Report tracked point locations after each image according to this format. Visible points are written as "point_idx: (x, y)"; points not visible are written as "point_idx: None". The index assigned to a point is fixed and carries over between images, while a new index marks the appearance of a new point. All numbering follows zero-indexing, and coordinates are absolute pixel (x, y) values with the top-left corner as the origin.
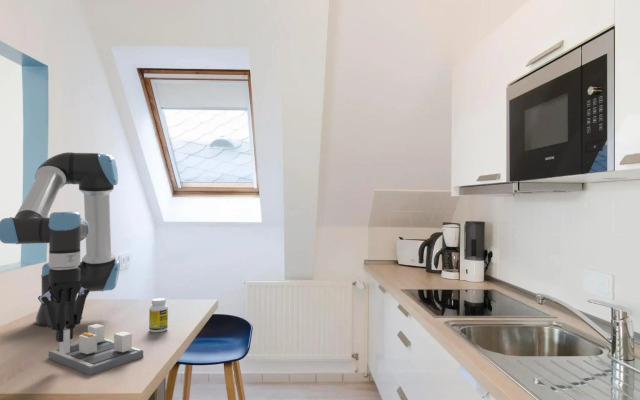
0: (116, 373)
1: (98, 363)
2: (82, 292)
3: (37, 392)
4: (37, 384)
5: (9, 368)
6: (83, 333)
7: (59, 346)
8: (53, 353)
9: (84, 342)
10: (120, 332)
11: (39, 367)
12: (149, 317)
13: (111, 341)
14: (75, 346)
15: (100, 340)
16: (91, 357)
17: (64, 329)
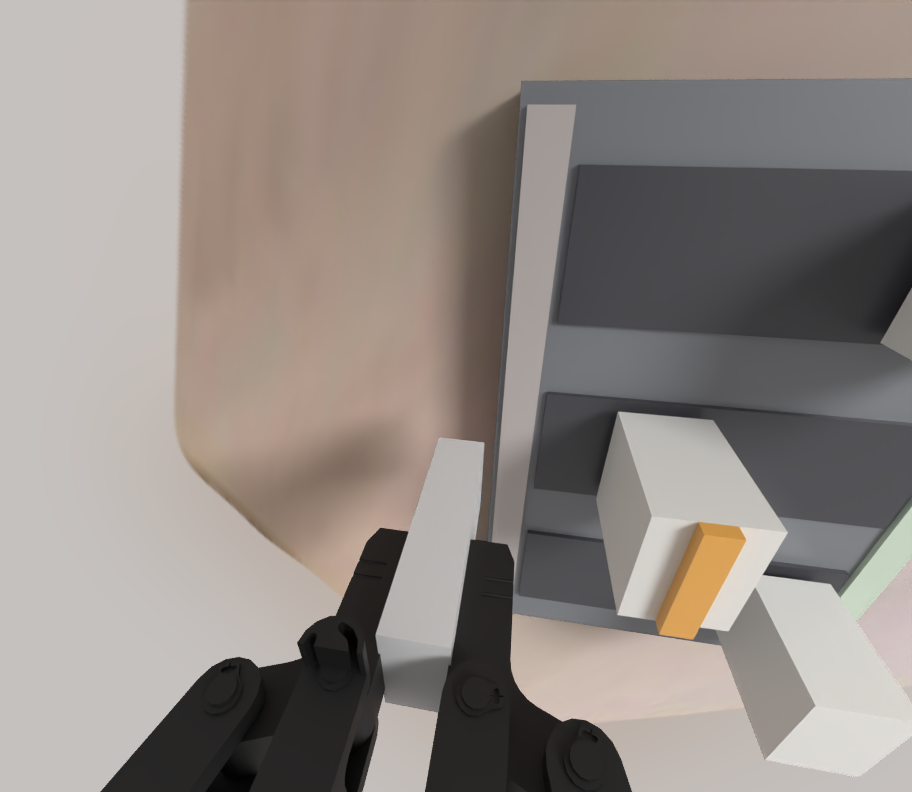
0: (559, 633)
1: (542, 604)
2: None
3: (274, 534)
4: (294, 476)
5: (212, 46)
6: (699, 544)
7: (429, 471)
8: (514, 202)
9: (616, 545)
10: (873, 722)
11: (381, 257)
12: None
13: None
14: (760, 207)
15: None
16: (593, 523)
17: (403, 686)
